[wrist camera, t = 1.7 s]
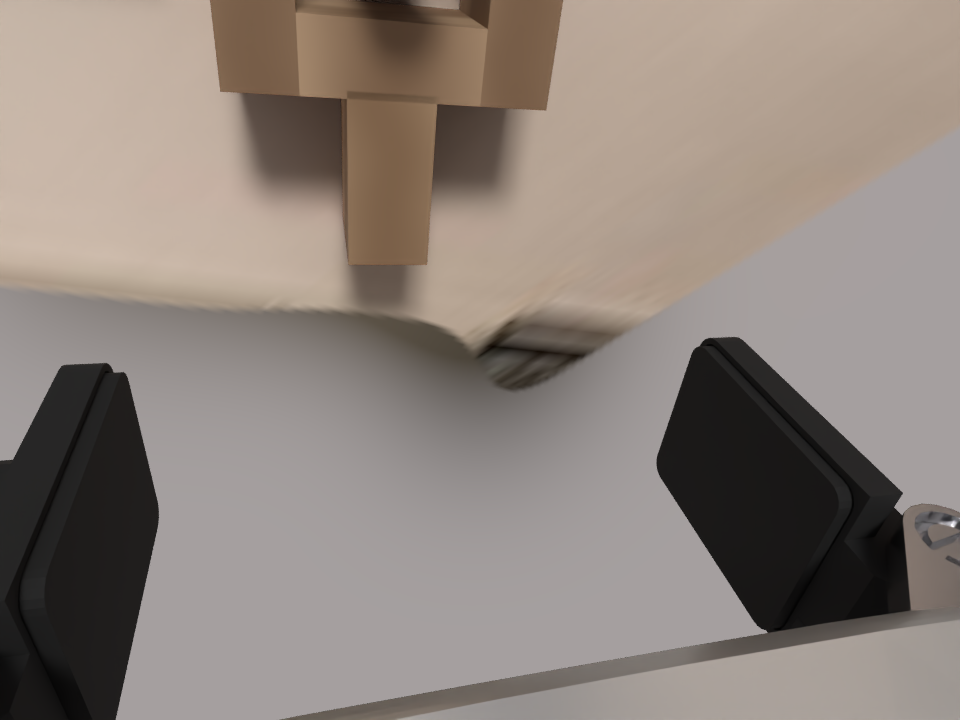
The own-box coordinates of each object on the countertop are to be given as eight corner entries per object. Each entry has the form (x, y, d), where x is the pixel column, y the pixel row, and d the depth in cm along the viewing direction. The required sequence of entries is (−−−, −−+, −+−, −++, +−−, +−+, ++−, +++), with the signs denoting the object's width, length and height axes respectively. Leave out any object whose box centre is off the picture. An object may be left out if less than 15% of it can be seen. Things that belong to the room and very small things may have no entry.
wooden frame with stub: (555, -279, 17) (612, -320, 14) (494, 218, 25) (522, 264, 22) (192, -355, 15) (162, -424, 12) (248, 214, 23) (239, 264, 20)
